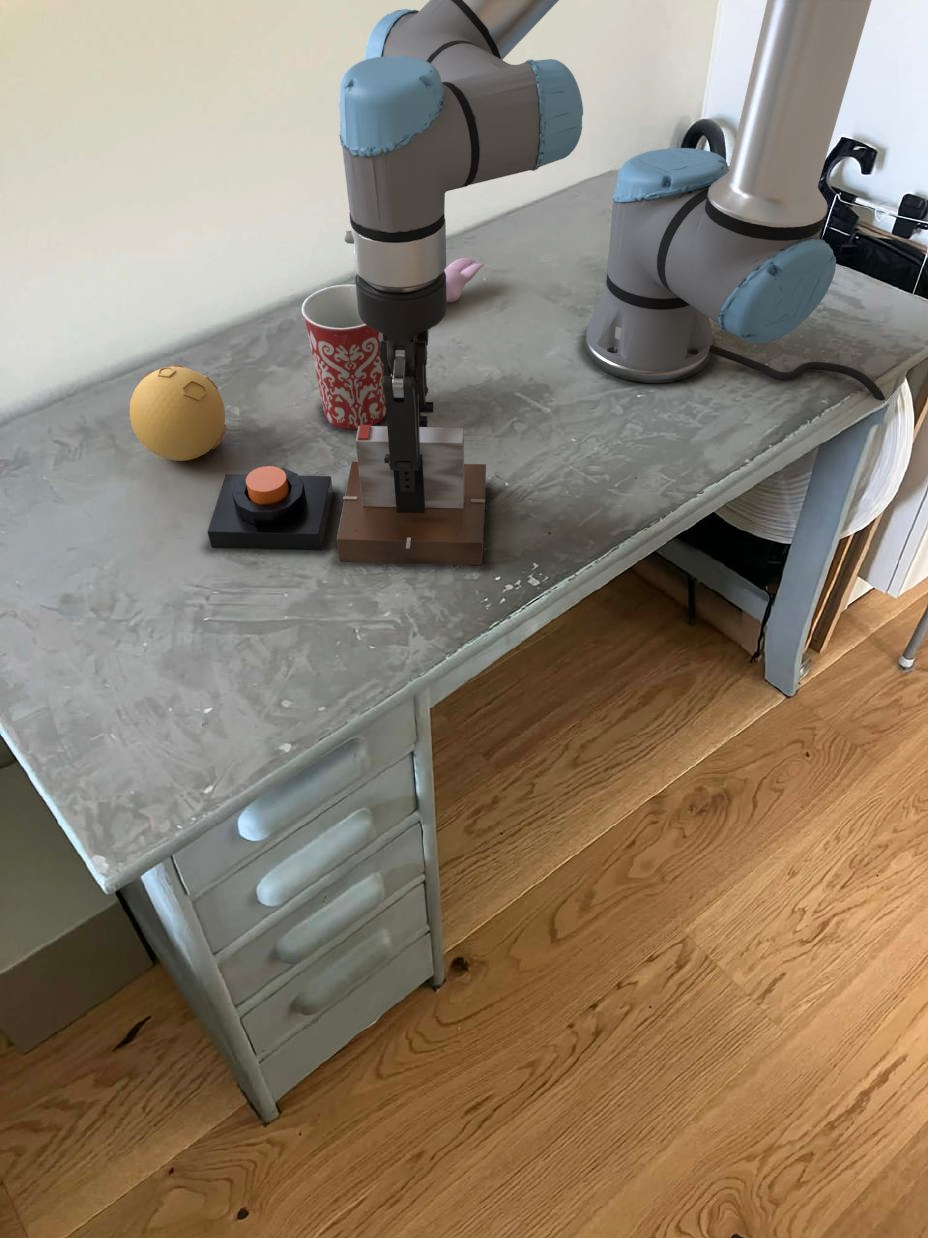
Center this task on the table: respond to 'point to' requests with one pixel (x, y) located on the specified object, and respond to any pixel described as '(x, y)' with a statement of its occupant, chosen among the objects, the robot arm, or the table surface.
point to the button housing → (272, 515)
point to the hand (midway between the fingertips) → (413, 490)
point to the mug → (345, 358)
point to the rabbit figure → (459, 276)
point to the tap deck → (414, 527)
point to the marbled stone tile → (439, 466)
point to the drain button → (267, 485)
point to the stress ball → (177, 413)
